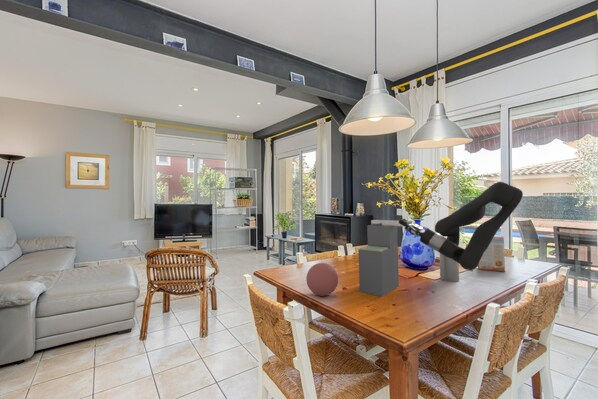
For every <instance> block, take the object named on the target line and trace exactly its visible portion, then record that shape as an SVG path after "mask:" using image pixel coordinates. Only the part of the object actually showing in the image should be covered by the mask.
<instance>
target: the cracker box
mask: <svg viewBox="0 0 598 399" xmlns="http://www.w3.org/2000/svg"><path fill="white" fill-rule="evenodd" d="M505 259H506V258H505V237H504V236H502V235H495V236H494V237H493V239H492V241H491V243H490V244H489V246H488V248H487V249H486V251H485V252H484V253H483V255H482V257H481V259H480V261H479V265H478V266H477V270H480V271H491V272H494V271H495V272H504V273H505V272H506V263H505V262H506V260H505Z"/></svg>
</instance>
